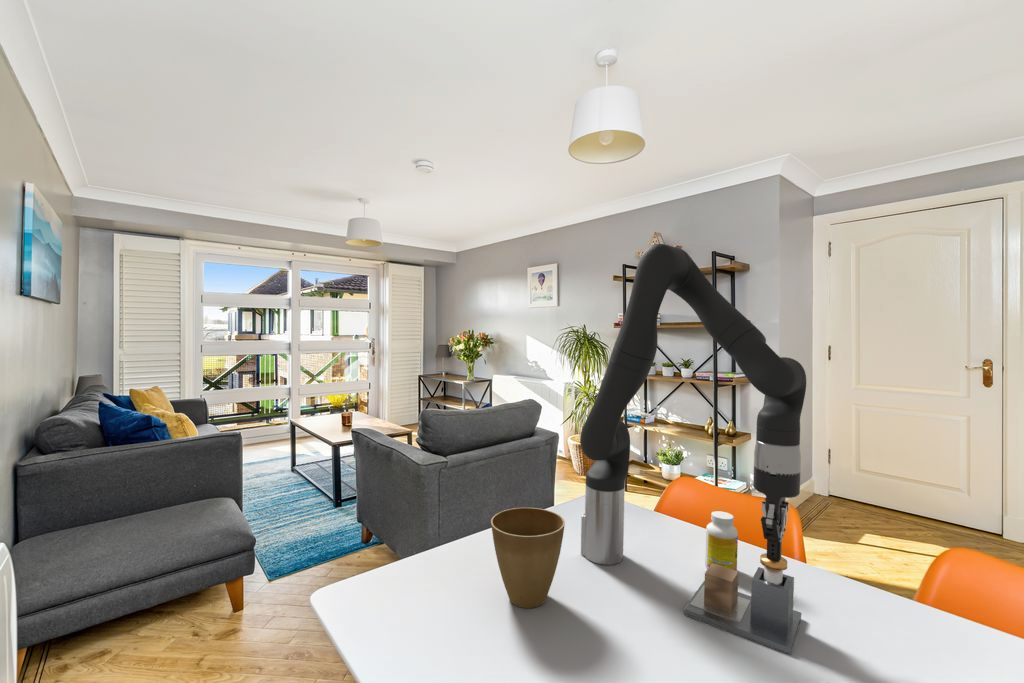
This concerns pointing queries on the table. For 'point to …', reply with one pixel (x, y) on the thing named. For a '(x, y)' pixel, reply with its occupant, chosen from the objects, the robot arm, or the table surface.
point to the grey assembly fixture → (755, 613)
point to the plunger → (773, 569)
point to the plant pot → (527, 552)
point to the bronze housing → (721, 587)
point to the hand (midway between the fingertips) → (773, 558)
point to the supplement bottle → (721, 541)
